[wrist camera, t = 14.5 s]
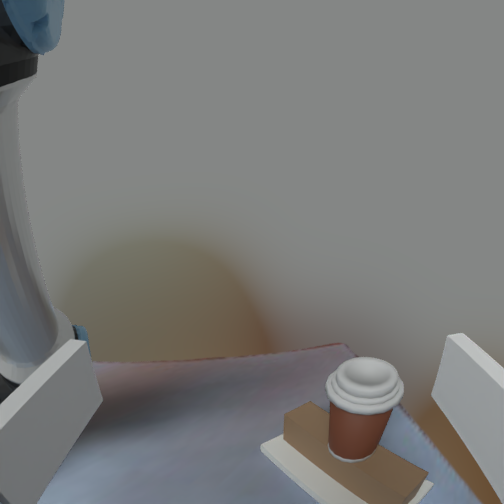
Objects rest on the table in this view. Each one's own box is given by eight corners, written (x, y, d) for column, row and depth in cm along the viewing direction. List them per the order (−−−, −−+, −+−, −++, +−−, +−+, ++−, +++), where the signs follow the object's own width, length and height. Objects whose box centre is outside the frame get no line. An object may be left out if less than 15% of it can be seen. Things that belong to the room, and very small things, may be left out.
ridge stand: (260, 450, 42) (260, 419, 40) (318, 420, 48) (322, 389, 47) (376, 544, 22) (392, 520, 20) (430, 489, 28) (447, 459, 27)
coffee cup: (398, 456, 30) (423, 382, 27) (332, 479, 28) (348, 405, 26) (367, 416, 39) (381, 346, 36) (307, 432, 37) (315, 359, 35)
